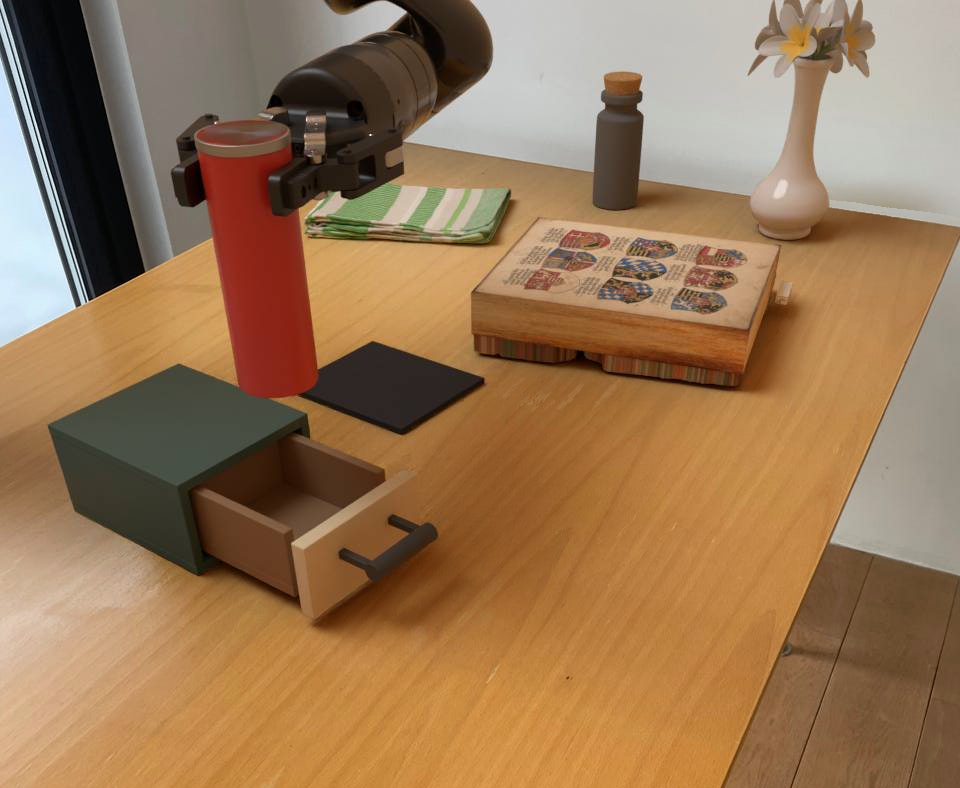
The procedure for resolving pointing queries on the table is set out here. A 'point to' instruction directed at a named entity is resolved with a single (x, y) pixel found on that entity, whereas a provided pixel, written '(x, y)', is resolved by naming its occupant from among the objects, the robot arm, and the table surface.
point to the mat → (390, 386)
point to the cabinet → (163, 454)
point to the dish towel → (411, 214)
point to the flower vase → (804, 106)
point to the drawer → (310, 520)
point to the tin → (258, 258)
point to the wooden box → (628, 300)
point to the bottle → (618, 142)
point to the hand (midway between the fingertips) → (228, 193)
